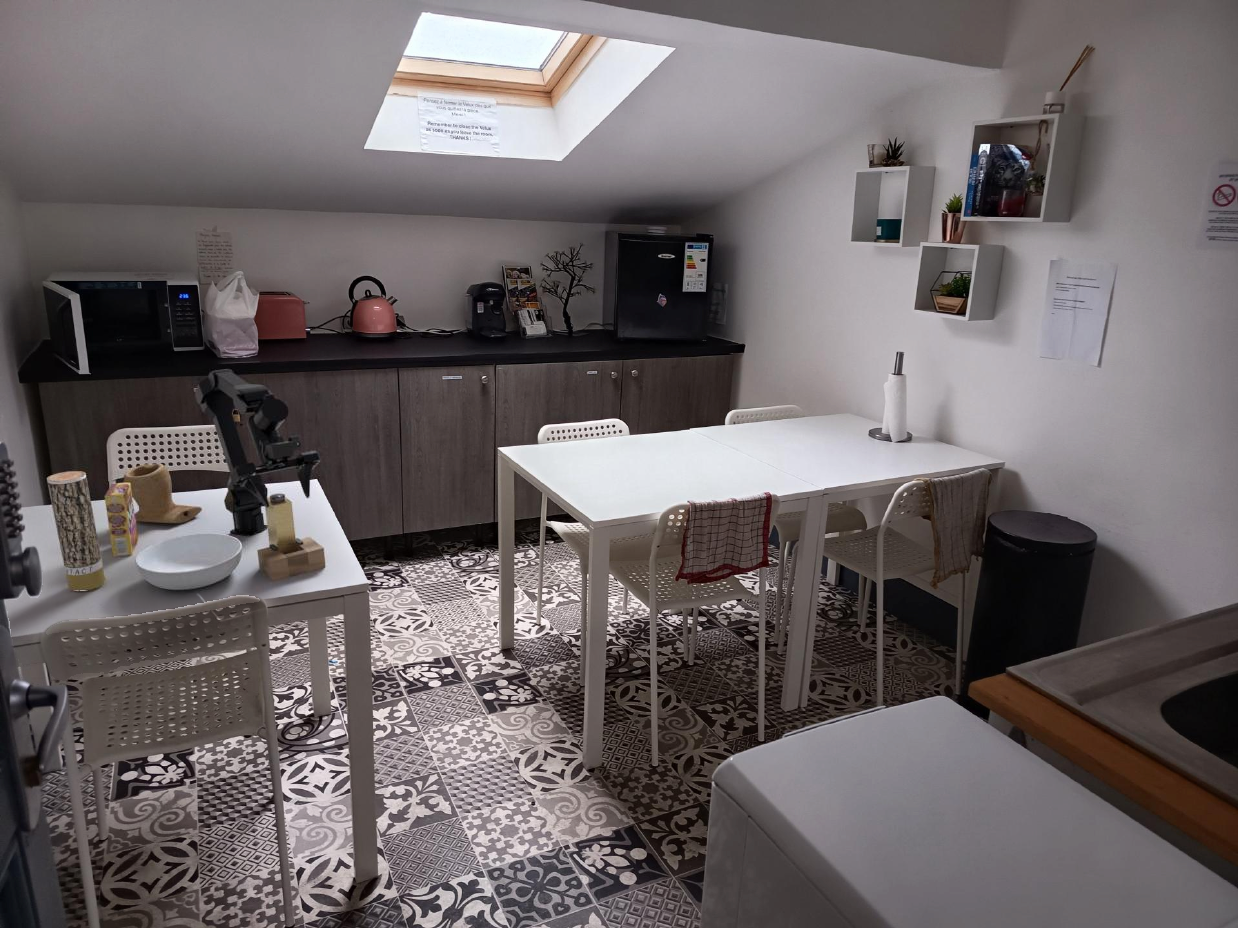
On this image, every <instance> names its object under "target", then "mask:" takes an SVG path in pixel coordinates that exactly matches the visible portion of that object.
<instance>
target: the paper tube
mask: <svg viewBox="0 0 1238 928" xmlns="http://www.w3.org/2000/svg"><path fill="white" fill-rule="evenodd" d="M86 474H87V473H86V472H85V471H81V470H80V471H78V470H71V471H64V472H58V473H55V474H52V475H50V476H48V477H47V478H46V481H47V487H48V492H49V496H50V502H51V503H50V504H51V506H52V507H51V508H52V511H53V517H54V522H55V526H56V531H57V532H56V533H57V537H58V541H59V546H60V552H61V556H62V560H63V561H62V562H63V566H64V571H65V574H66V575H65V576H66V581H67V587H68V588H69V590H70V591H72V590H79V591H80V590H90V591H92V590H91V589H93V590H96V589H98V588H100V587H102V586H103V585H104V584H105V582H106V577H105V571H104V567H103V560H102V554H101V548H100V544H99V537H98V532H97V527H96V522H95V517H94V512H93V507H92V506H93V505H92V501H91V500H92V499H91V495H90V489H89V484H88V483H89V482H88V479H87V475H86ZM101 585H102V586H101ZM97 587H98V588H97ZM95 588H96V589H95Z"/></svg>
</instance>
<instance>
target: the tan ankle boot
mask: <svg viewBox="0 0 1238 928" xmlns="http://www.w3.org/2000/svg"><path fill="white" fill-rule="evenodd" d="M123 483H130V484H131V492H132V499H133V501H135V503H136V504H137V506H138V511H136V512H134V513H135V519H136V522H142V523H143V522H144V523H156V524H157V523H158V524H160V523H161V524H181V523H186V522H188V521H191V520H192V519H193V518H195V517H197V516H198V515H199V514H200V513H201V512H202V511H203V508H202V506H192V505H184V504H177V503H176V504H175V502H174V500H173V497H172V496H173V495H172V488H173V487H172V486H173V485H172V478H171V475H170V471H169V470H168V468H167V467H166V466H165V465H164V464H162V463H159V462H156V463H153V464H148V463H147V464H141V465H138V466H135V467H133V468H131V469H130V470H128V471H127V472H125V473H124V474H123Z"/></svg>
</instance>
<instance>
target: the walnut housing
mask: <svg viewBox="0 0 1238 928" xmlns="http://www.w3.org/2000/svg"><path fill="white" fill-rule="evenodd" d="M295 538H296V537H295ZM296 548H297V552H294V553H290V554H286V555H284V554H283V553H281V552H280V551H279V548H278V547H277V546H276V545H274V544H271V545H268V547H263V548H261V549H257V559H258V566H259V570H260V571H261V572H262V573H263V575H265V576H266V578H268V579H269V580H270V581H271V582H277V581H280V580H284V579H287V578H291V577H294V576H298V575H302V574H306V573H308V572H313V571H316V570H320V569H323V568H326V566H327V565H326V558H325V548H324V547H323V546H322V545H320V544H319V543H318V542H317V541H316V540H315V539H313V538H312V537H311V536H310V537H304V538H299V537H297V538H296Z"/></svg>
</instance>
